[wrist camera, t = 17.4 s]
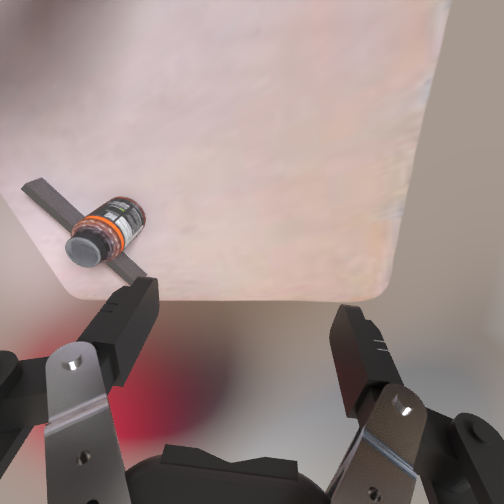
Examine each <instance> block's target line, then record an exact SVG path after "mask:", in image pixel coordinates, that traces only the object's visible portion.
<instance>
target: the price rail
mask: <svg viewBox="0 0 504 504" xmlns="http://www.w3.org/2000/svg"><path fill="white" fill-rule="evenodd" d="M21 190H23V191H24V192H25V193H26V194H27V195H28V196H29V197H31V198H32V199H33V200H34V201H35V202H36V203H37V204H39V205H40V206H41V207H42V208H43V209H44V210H45V211H47V212H48V213H49V214H50V215H51V216H52V217H53V218H55V219H56V220H57V221H58V222H59V223H60V224H61V225H63V226H64V227H65V228H66V229H67V230H68V231H69V232H70V233H72V229H73V227H74V226H75V224H76V223H78V222H79V221H80V220H81V219H83V218H84V216H83V215H82V214H81V213H80V212H79V211H78V210H77V209H75V208H74V207H73V206H72V205H71V204H70V203H69V202H68V201H67V200H66V199H65V198H64V197H62V196H61V195H60V194H59V193H58V192H57V191H56V190H55V189H54V188H53V187H52V186H50V185H49V184H48V183H47V182H46V181H45V180H44V179H43V178H39V179H37V180H34V181H31V182H28V183H26V184H25V185H24V186H23V187H22V188H21ZM105 263H106V264H107V265H108V266H109V267H110V268H112V269H113V270H114V271H115V272H116V273H117V274H118V275H120V276H121V277H122V278H123V279H124V280H125V281H126V282H128V283H129V284H130V285H132V284H133V282H134V281H135V279H136V278H137V277H138V276H144V277H146V275H147V274H146V273H145V272H144V271H143V270H142V269H141V268H140V267H138V266H137V265H136V264H135V263H134V262H133V261H132V260H131V259H130V258H129V257H128V256H126V255H125V254H124V253H123V252H121V253H120V254H119V255H118V256H117V257H116V258H115V259H113V260H111V261H109V262H105Z"/></svg>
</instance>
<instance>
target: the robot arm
mask: <svg viewBox="0 0 504 504" xmlns="http://www.w3.org/2000/svg"><path fill="white" fill-rule="evenodd" d="M158 312H159V291H158V280H157V278H151V277H144V276H138V277H137V278H136V279H135V281H134V282H133V284H132V285H131V286H130V287H129V286H123V287H121V288H120V289H118V290H117V291H115V292H114V293H113V294H112V295H111V296H110V298H109V299H108V300H107V302H106V304H104V305H103V307H102V308H101V310H100V312H98V313H97V315H96V316H95V318H94V319H93V320H92V321H91V323H90V324H89V325H88V327H87V328H86V329H85V330H84V332H83V333H82V334H81V336H80V337H79V338H78V340H77V341H76V342H73V343H69V344H66V345H64V346H62V347H60V348H59V349H58V350H56V351H55V352H54V353H53V354H51V356H48V357H43V358H35V359H28V360H21V361H19V360H18V358H17V356H16V355H15V354H14V353H12V352H10V351H0V479H1V477H2V476H3V474H4V473H5V471H6V469H7V468H8V466H9V465H10V463H11V462H12V460H13V458H14V457H15V455H16V454H17V452H18V450H19V449H20V447H21V446H22V444H23V443H24V441H25V439H26V438H27V436H28V435H29V433H30V431H31V430H32V428H33V427H34V426H35V425H40V424H44V423H48V424H46V425H45V430H44V432H45V433H44V437H45V438H44V439H45V457H46V458H45V459H46V479H47V500H48V504H410V503H411V500H412V496H413V492H414V488H415V484H416V479H417V474H418V475H420V478H421V481H422V483H423V486H424V490H425V493H426V496H427V499H428V501H429V504H504V440H503V438H502V437H501V436H500V435H499V433H498V432H497V431H496V430H495V429H494V428H493V427H492V426H491V425H490V424H489V423H487V422H486V421H484V420H483V419H481V418H480V417H478V416H476V415H473V414H469V413H460V414H458V415H457V416H456V417H455V418H454V419H452V418H449V417H447V416H445V415H442V414H440V413H438V412H435V411H433V410H431V409H429V408H426V407H425V405H424V403H423V402H422V400H421V399H420V397H419V396H418V395H417V394H416V393H414V392H413V391H412V390H411V389H409V388H407V387H405V386H404V384H403V382H402V380H401V377H400V375H399V373H398V371H397V369H396V366H395V364H394V362H393V359H392V357H391V355H390V353H389V352H388V349H387V346H386V344H385V343H384V339H383V337H382V335H381V332H380V331H379V329H378V328H377V327H376V326H375V325H374V323H373V322H372V321H371V320H365V318H364V315H363V313H362V310H361V308H360V307H357V306H351V305H343V304H342V305H340V307H339V309H338V311H337V314H336V317H335V319H334V321H333V324H332V327H331V329H330V336H329V340H330V345H331V350H332V355H333V359H334V363H335V368H336V372H337V377H338V381H339V385H340V390H341V394H342V398H343V403H344V407H345V412H346V416H347V417H348V418H356V419H358V423H359V428H358V429H357V431H356V433H355V436H354V437H353V439H352V441H351V443H350V445H349V447H348V450H347V451H346V453H345V455H344V457H343V460H342V462H341V463H340V465H339V468H338V469H337V472H336V473H335V475H334V477H333V479H332V480H331V482H330V484H329V486H328V488H327V490H326V491H325V492H324V491H323V490H322V489H321V488H320V487H319V486H318V485H317V484H315V483H314V482H313V481H312V480H310V479H309V478H307V477H306V476H304V475H303V474H301V473H299V472H298V467H297V461H292V460H285V459H277V458H269V457H263V458H257V459H251V460H246V461H241V462H234V463H230V462H227V461H224V460H222V459H220V458H217V457H216V456H214V455H211V454H209V453H207V452H205V451H203V450H200V449H198V448H192V447H184V446H176V445H168V444H165V447H164V450H163V454H162V455H157V456H154V457H151V458H148V459H146V460H143V461H141V462H139V463H137V464H136V465H134V466H132V467H131V468H129V469H128V470H127V471H125V467H124V463H123V459H122V455H121V451H120V447H119V443H118V439H117V434H116V430H115V426H114V422H113V418H112V413H111V409H110V405H109V401H108V397H107V396H108V394H109V392H110V390H111V388H112V386H120V387H123V386H124V383H125V382H126V380H127V377H128V375H129V373H130V372H131V369H132V367H133V365H134V363H135V361H136V359H137V357H138V355H139V353H140V351H141V349H142V347H143V345H144V343H145V341H146V339H147V337H148V335H149V333H150V331H151V329H152V327H153V325H154V323H155V321H156V319H157V316H158Z"/></svg>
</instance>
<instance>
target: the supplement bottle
mask: <svg viewBox="0 0 504 504" xmlns="http://www.w3.org/2000/svg"><path fill="white" fill-rule="evenodd" d="M145 221H146V218H145V214H144V211H143V209H142V208H141V206H140V205H139V204H137V203H136V202H135V201H133V200H132V199H129V198H126V197H116V198H113V199H111V200H110V201H108V202H106V203H105V204H103V205H102V206H100V207H99V208H98V209H96V210H95V211H93V212H92V213H90V214H89V215H87V216H86V217H84V218H83V219H81V220H80V221H79V222H78V223H76V224H75V226H74V227H73V229H72V233H71V238H70V239H69V240H68V241H67V243H66V246H65V250H66V253H67V255H68V256H69V258H70V259H71V260H72V261H73V262H74V263H76V264H78V265H80V266H83V267H94V266H96V265H98V264H99V263H100V262H109V261H111V260H113V259H115V258H116V257H117V256H118V255H119V254H120V253H121V252H122V251H123V250H124V249H125V248H126V247H127V246H128V244H130V242H131V241H132V240H133V239H134V238H135V237H137V235H138V233H140V232H141V230H142V229H143V227H144V225H145Z"/></svg>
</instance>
